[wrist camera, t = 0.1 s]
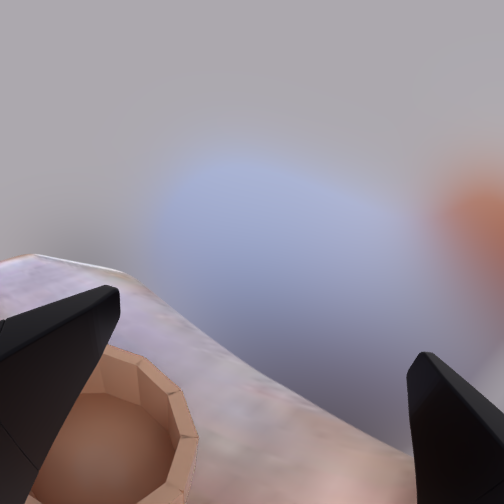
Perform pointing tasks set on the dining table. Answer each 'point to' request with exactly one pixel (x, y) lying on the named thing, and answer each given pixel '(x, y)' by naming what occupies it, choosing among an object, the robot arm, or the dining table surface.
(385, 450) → the dining table surface
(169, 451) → the terracotta bowl
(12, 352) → the robot arm
